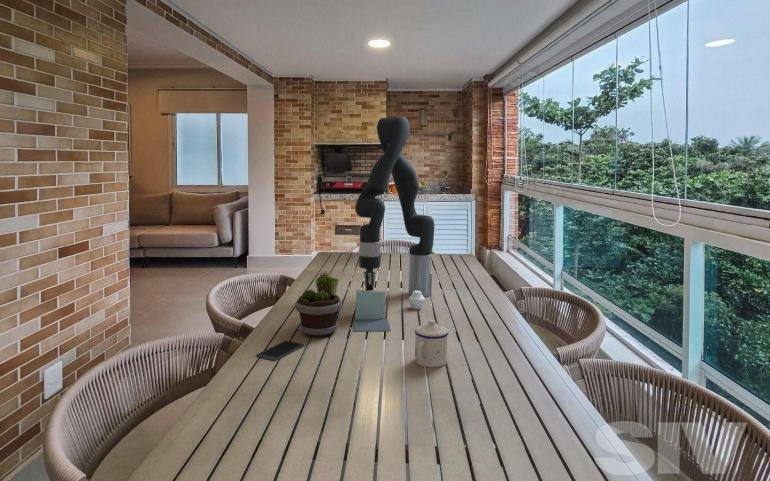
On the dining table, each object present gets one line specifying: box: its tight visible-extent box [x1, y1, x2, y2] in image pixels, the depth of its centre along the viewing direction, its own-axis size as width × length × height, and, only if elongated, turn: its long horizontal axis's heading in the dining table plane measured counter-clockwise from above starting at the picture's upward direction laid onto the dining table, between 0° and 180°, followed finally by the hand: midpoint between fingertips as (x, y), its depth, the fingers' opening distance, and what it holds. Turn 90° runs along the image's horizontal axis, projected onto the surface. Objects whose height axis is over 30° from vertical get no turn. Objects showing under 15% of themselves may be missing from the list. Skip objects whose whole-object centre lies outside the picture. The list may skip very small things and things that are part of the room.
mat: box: [352, 318, 392, 333], centre depth 163 cm, size 12×12×1 cm
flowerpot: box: [294, 269, 343, 338], centre depth 154 cm, size 14×15×20 cm
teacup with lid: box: [414, 319, 449, 368], centre depth 131 cm, size 12×9×12 cm
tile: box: [355, 289, 386, 319], centre depth 170 cm, size 10×2×10 cm, turn 94°
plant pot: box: [314, 277, 340, 295], centre depth 190 cm, size 9×9×9 cm
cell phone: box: [255, 340, 305, 362], centre depth 140 cm, size 7×14×1 cm, turn 153°
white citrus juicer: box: [408, 291, 426, 310], centre depth 183 cm, size 6×6×7 cm
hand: (369, 301), depth 175 cm, fingers closed
